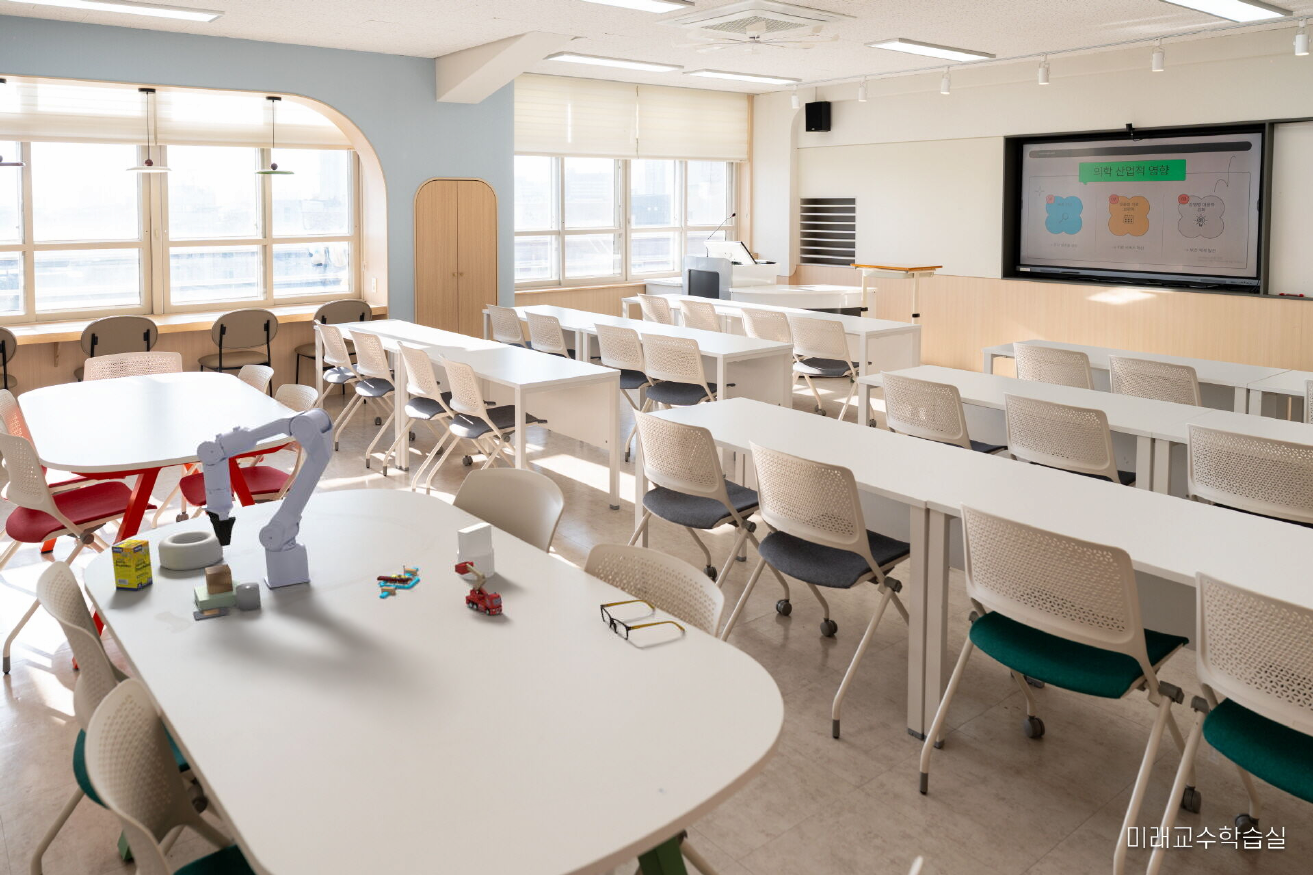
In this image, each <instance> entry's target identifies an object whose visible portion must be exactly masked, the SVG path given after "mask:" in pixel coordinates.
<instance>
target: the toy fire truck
mask: <svg viewBox="0 0 1313 875" xmlns="http://www.w3.org/2000/svg"><path fill="white" fill-rule="evenodd" d="M473 567H474V564H473V562H469V561H468V562H463V563H460V564H458V563H457V564H454V572H455V573H457V574H458V573H459V574H461V575H464V574H467V573H470V572H471V573H473V574H474V575H475V576H477V579H476V580H474V581H475V582H474V584H473V586H472V589H469V594H468V595H466V596H464V597H465V604H466V605H467V606H469V608H471V609H473V610H475V611H478V610H479V611H481V612H484V613H486V614H485V615H487V616H489V615H491V616H492V615H493V616H494V615H498V614H500V613H502V612H503V603H502V602H503V601H502V597H501V595H500V593H498V592H496V591H494V592H493V593H488V592H487V590H486V589H485V588H484V586H485V583H487V581H488V578H486V577H485V575H484V574H481V573H480V572H478V571H477V570H476V569H475V568H473Z"/></svg>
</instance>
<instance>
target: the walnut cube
mask: <svg viewBox="0 0 1313 875" xmlns="http://www.w3.org/2000/svg"><path fill="white" fill-rule="evenodd" d="M204 572H205V573H204V574H205V582H206V584H205V585H207V589H208V592H209V594H210V595H212V594H218V593H224V592H229V591H233V585H232V581H233V578H232V577H233V576H232V570H231V568H230V566H229V564H228V563H227V564H220V565H214V566H207V567H204Z"/></svg>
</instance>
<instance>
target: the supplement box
mask: <svg viewBox="0 0 1313 875" xmlns="http://www.w3.org/2000/svg"><path fill="white" fill-rule="evenodd" d="M110 548H111V556H112V563H113V564H112V565H113V574H114V581H115V589H116V590H118V591H120V590H122V591H132V592H135V591H136V592H138V591H140V590H141V589H143V588H145V587H147V586H149V585H151V584H154V582H153V581H154V580H153V571H152V561H151V553H150V552H151V551H150V542H149V540H143V539H133V538H132V539H129V538H127V539H126V540H124V541H122V542H119V543H117V544H115V545H114V544H113V545H111V547H110Z"/></svg>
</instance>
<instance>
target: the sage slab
mask: <svg viewBox="0 0 1313 875" xmlns="http://www.w3.org/2000/svg"><path fill="white" fill-rule="evenodd" d="M240 584H242V583H241V580H240V579H236V580H232V585H233V591H229V592H224V593H218V594H212V595H210V594H209V592H208V589H207V584H205V585H200V586H194V587H193V592H194V599H195V601H196V604H197V607H198V608H199V611H201V610H207V609H212V608H218V607H224V606H227V607H231V606H237V598H236V587H237V586H238V585H240Z"/></svg>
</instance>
